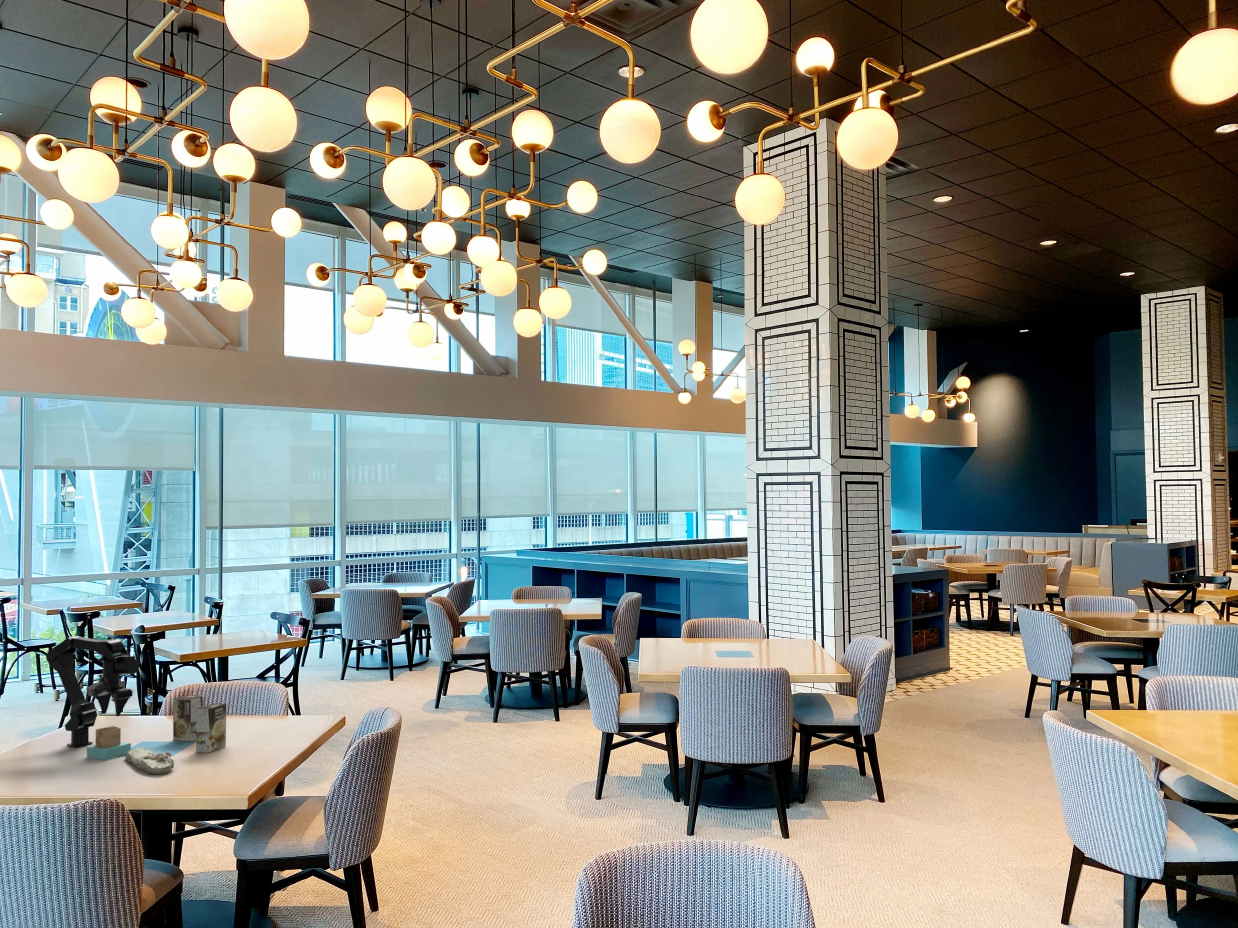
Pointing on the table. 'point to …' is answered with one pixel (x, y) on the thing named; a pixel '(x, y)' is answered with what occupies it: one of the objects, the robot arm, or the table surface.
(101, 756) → the teal plinth
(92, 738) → the table surface
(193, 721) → the coffee box
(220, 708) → the coffee box
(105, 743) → the walnut block
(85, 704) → the robot arm
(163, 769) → the long grey stone
